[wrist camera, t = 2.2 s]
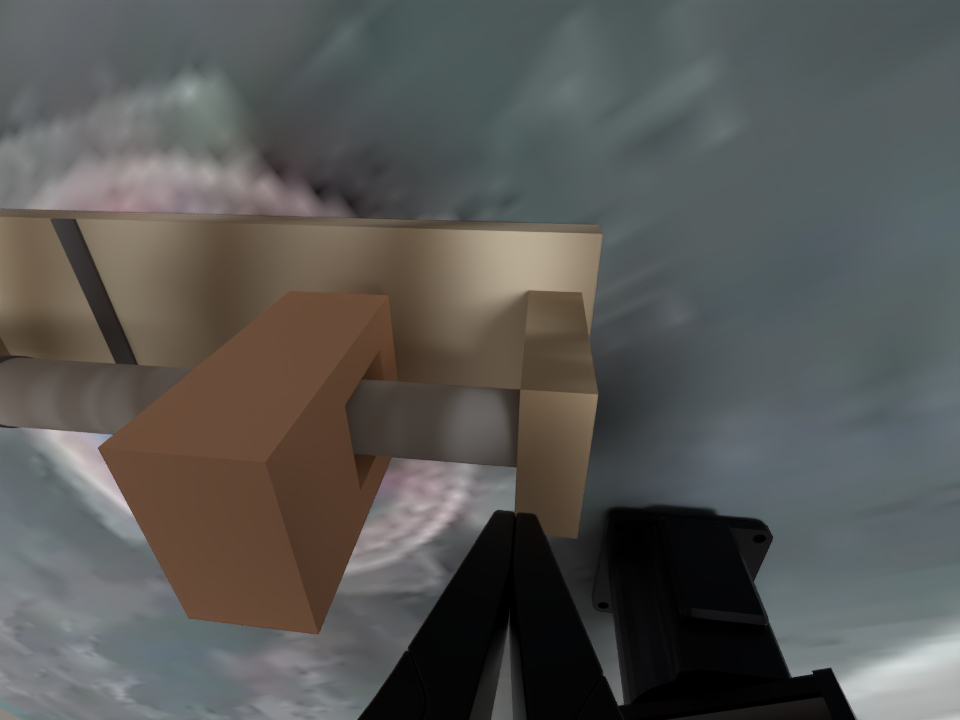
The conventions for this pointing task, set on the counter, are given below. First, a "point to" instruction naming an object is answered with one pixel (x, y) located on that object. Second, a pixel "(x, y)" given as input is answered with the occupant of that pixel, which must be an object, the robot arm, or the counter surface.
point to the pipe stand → (329, 269)
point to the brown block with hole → (261, 463)
